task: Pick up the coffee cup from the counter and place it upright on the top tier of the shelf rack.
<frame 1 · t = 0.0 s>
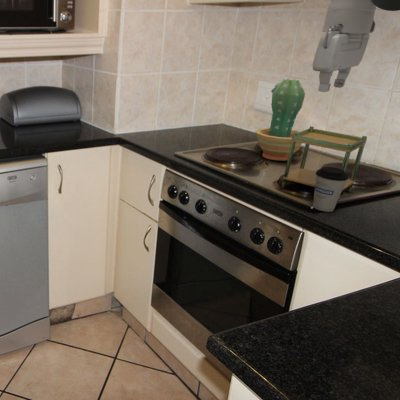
hand: (331, 89, 108), 29 cm above the countertop, tool pointing down, fingers open, 8 cm apart
potted cactus: (276, 157, 158), on the countertop
shelf rack: (315, 189, 131), on the countertop
coffee cup: (322, 208, 119), on the countertop
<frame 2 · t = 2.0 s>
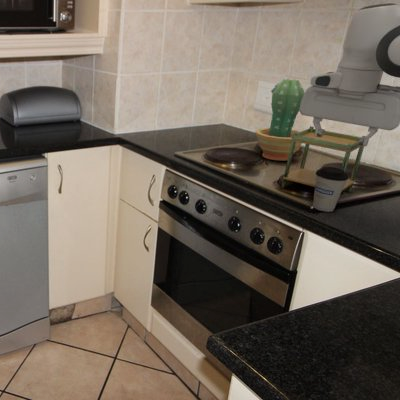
hand: (339, 140, 113), 17 cm above the countertop, tool pointing down, fingers open, 8 cm apart
nothing on the countertop moved.
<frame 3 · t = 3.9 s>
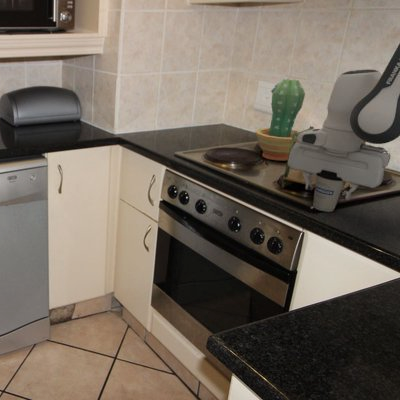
hand: (326, 194, 118), 4 cm above the countertop, tool pointing down, fingers closed on coffee cup, 7 cm apart
coffee cup: (323, 208, 119), on the countertop, touching gripper
everything else where it was.
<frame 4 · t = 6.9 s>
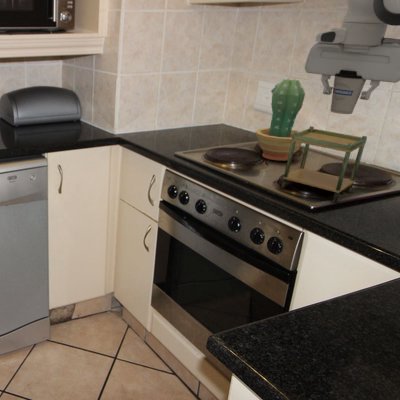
hand: (344, 96, 115), 26 cm above the countertop, tool pointing down, fingers closed on coffee cup, 7 cm apart
coffee cup: (340, 112, 116), point 23 cm above the countertop, touching gripper
everything else where it was.
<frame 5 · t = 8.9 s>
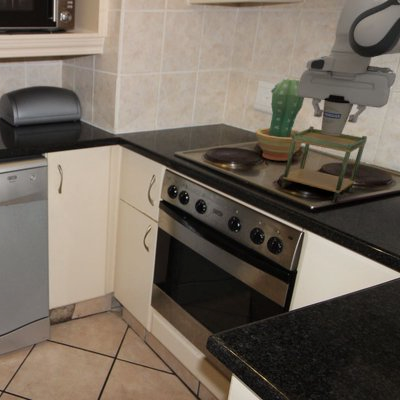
hand: (334, 119, 123), 20 cm above the countertop, tool pointing down, fingers closed on coffee cup, 7 cm apart
coffee cup: (330, 134, 125), point 16 cm above the countertop, touching gripper
everything else where it was.
when the fingers open (18 cm above the countertop, at t = 10.1 s): coffee cup stays where it is, resting on shelf rack.
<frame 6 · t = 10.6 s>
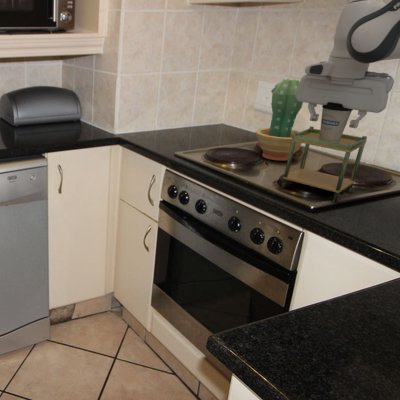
hand: (332, 124, 124), 18 cm above the countertop, tool pointing down, fingers open, 8 cm apart
coffee cup: (328, 141, 125), point 14 cm above the countertop, touching shelf rack
everything else where it was.
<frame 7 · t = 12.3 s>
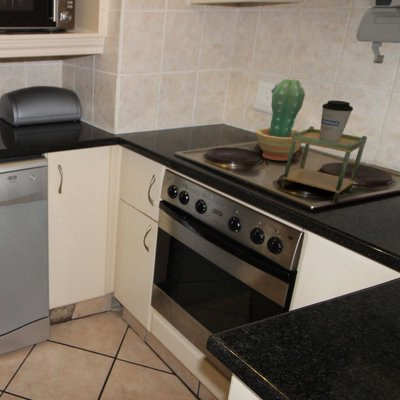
nothing on the countertop moved.
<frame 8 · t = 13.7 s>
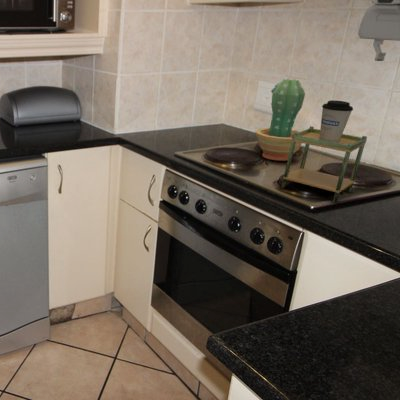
nothing on the countertop moved.
at the end: coffee cup inside the target area on the shelf rack (0.1 cm from its centre), point 13.8 cm above the shelf rack's base; coffee cup tilted 0°; the gripper is holding nothing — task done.
